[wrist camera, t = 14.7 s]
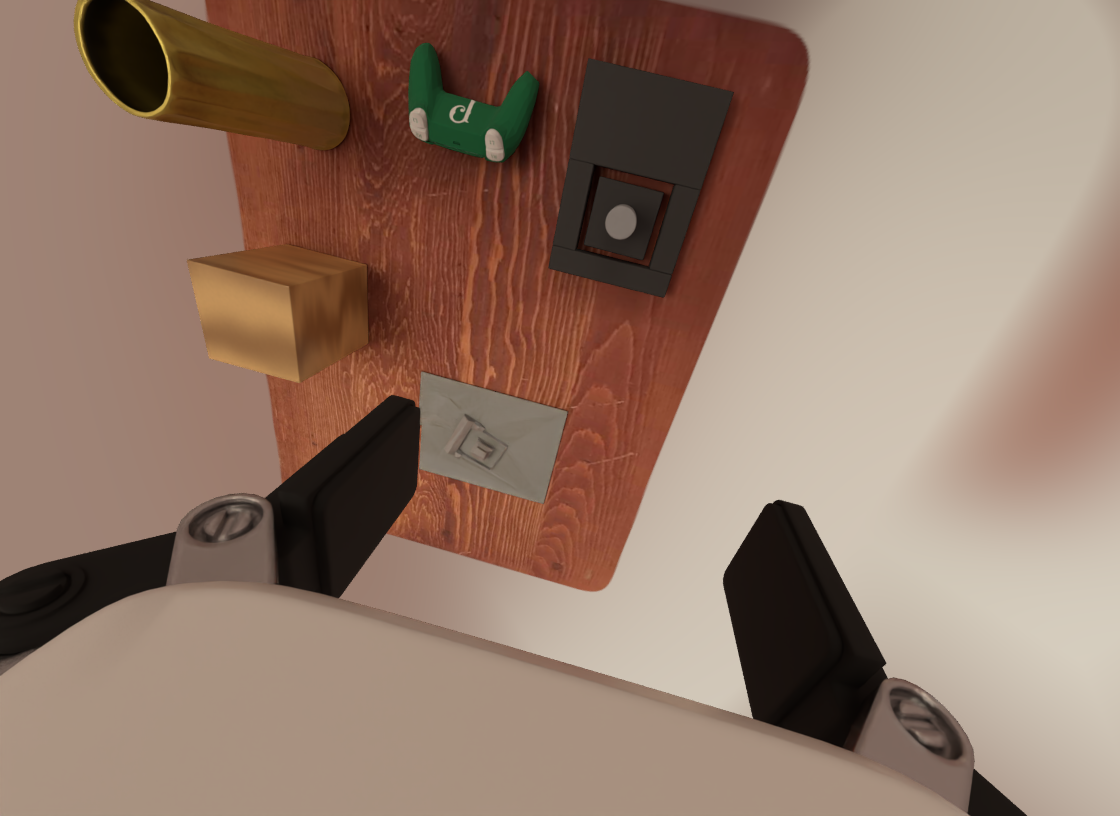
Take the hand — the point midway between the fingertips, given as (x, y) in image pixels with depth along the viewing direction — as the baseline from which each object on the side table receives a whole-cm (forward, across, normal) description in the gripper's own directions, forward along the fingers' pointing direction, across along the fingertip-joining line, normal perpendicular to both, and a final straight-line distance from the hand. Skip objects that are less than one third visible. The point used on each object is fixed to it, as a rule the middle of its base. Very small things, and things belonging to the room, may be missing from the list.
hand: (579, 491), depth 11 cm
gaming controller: (+28, +14, -10) cm, 33 cm away
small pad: (+28, +1, -5) cm, 29 cm away
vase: (+28, +27, -8) cm, 40 cm away
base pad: (+28, +1, -7) cm, 29 cm away
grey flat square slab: (+28, +14, +22) cm, 39 cm away
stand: (+28, +27, +8) cm, 40 cm away
